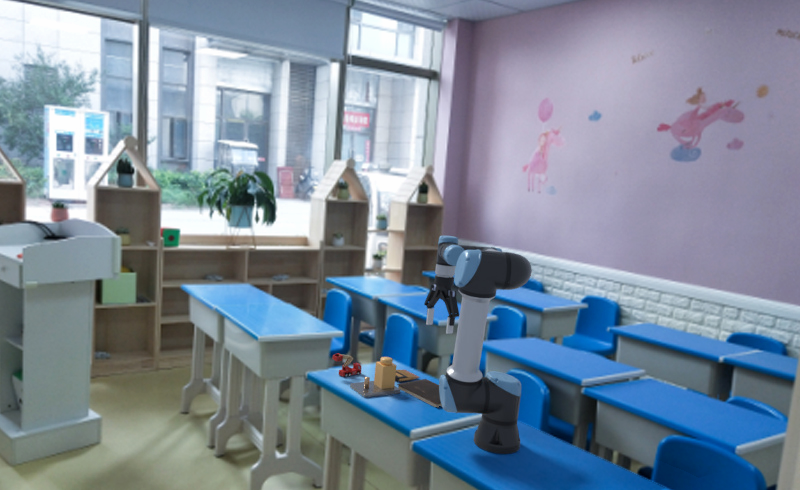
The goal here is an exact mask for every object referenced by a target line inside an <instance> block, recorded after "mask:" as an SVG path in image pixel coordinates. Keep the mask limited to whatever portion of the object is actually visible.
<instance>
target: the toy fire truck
mask: <svg viewBox="0 0 800 490" xmlns="http://www.w3.org/2000/svg"><path fill="white" fill-rule="evenodd" d="M331 358H332V360H334V361H335V362H342V361H343V358H344V359H346V360H345V362H344V364H342V365H341V366H342V367H341V369H339V370H338V375H339V376H341V377H345V378H347V377H351V376H353V375H354V376H355V375H357V376H359V375H360V374H362V368H363V367H362V365H361V364H360V363H359V362H353V363H352V361H353V360H354V357H353V356H351V355H348V354H341V353H335V354H333V355H332V357H331ZM351 363H352V364H353V367H350V364H351Z"/></svg>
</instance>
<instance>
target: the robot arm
mask: <svg viewBox="0 0 800 490" xmlns="http://www.w3.org/2000/svg"><path fill="white" fill-rule="evenodd" d="M532 270H533V267H532V265H531V262H530V261H529V259H528V258H527V257H525V256H524V255H521V254H518V253H515V252H510V251H509V252H508V251H503V250H502V248H499V247H495V246H494V247H493V246H491V247H489V246H475V245H465V244H459V238H458V237H456V236H454V235H452V236H451V235H440V236H439V237H438V243H437V254H436V263H435V273H434V274H435V275H434V283H433V284H431V285H430V289H429V292H428V294H427V295H426V299H425V300H424V304H423V305H424V306H426V321H425V322H426V323H425V324H426V326H431V325H433V324H434V314H435V306H436V304H437V303H438V302H439V300H441V301H443V302H444V304H445V307H446V310H447V314H448V316H447V321H446V328H445V329H446V330H445V334H447V335H449V334H453V333H454V327H455V321H456V318H458V322H457V323H458V324H457V331H456V336H455V344H454V350H453V359H452V364H451V365H450V366H448V367H447V368H446V372H445V374H441V375H440V376H439V380H438V385H439V393H440V400H441V405H442V406H441V407H442V409H443V410H444V411H445V412H447V413H455V414H481V419H480V421H479V424H478V426H477V428H476V429H475V432H474V435H473V442H474V444H475V445H476V446H477V447H478V448H480V449H482V450H484V451H487V452H489V453H494V454H501V455H502V454H505V455H506V454H507V455H508V454H509V455H510V454H514V453H517V452H518V451H520V448H521V437H520V433H519V427H518V419H519V412H520V403H521V397H522V383H521V381H520V380H519V379H518V378H516V377H515V376H514V375H510V374H508V373H505V372H501V371H495V370H493V371H492V370H491V371H488V372H486V374H485V376H483V373H482V371H481V370H480V364H481V358H482V354H483V353H482V352H483V351H482V350H483V346H484V345H483V344H484V340H485V334H486V333H485V332H486V327H487V320H488V314H489V309H490V301H491V300H493V299H494V298H495V297H496V296H497V291H498V290H500V291H501V290H503V291H504V290H505V291H510V290H515V289H519V288H521V287H523V286H524V285H525V284H527V283H528V281H529V280H530V278H531V277H532V272H533V271H532ZM454 285H455V286H456V287H458V289H457V290H458V292H459V293H460V295H461V305H460V309H459V307H458V299H457V291H456V290H452V287H454Z"/></svg>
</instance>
